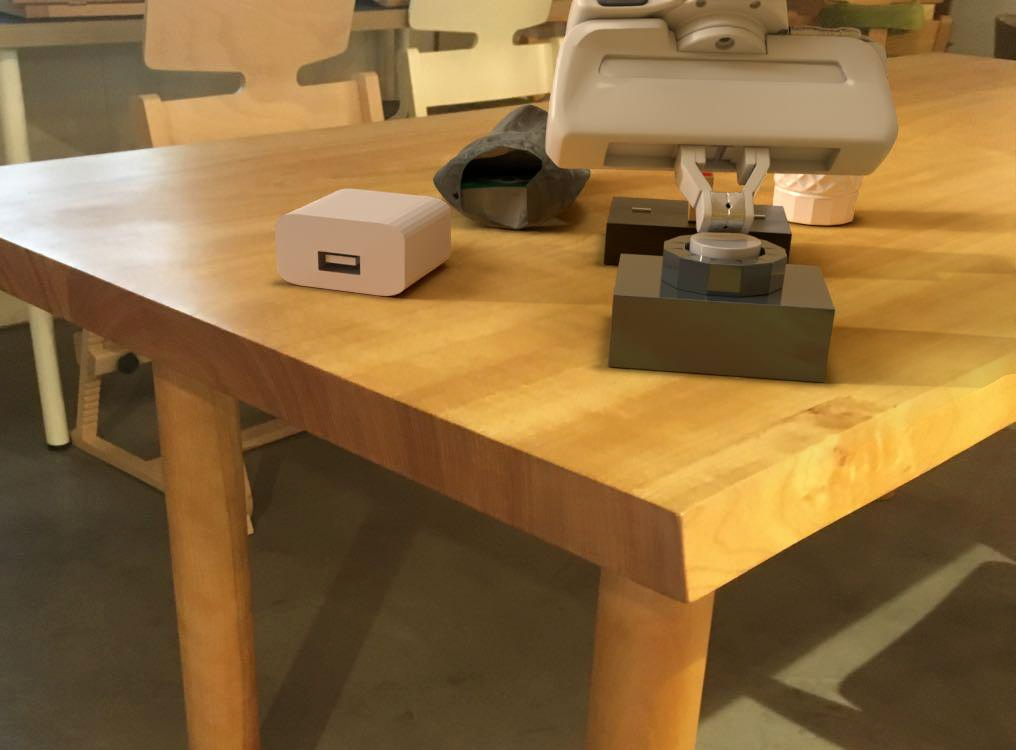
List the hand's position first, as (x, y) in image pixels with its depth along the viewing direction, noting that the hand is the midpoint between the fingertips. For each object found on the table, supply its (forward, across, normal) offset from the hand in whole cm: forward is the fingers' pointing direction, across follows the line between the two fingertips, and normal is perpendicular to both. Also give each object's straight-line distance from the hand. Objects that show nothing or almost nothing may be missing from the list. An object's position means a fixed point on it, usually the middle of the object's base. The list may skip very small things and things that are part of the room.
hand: (725, 228), depth 71 cm
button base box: (+5, 0, -5) cm, 7 cm away
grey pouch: (-22, +9, -33) cm, 41 cm away
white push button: (+2, 0, -2) cm, 3 cm away
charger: (-7, +20, -18) cm, 28 cm away
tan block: (-12, -3, -18) cm, 22 cm away
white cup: (-19, -15, -30) cm, 39 cm away
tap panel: (-10, -3, -20) cm, 23 cm away
